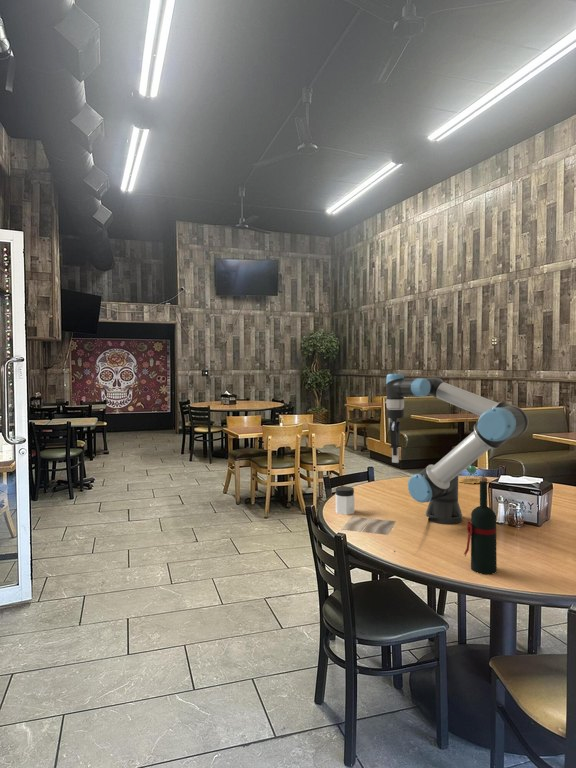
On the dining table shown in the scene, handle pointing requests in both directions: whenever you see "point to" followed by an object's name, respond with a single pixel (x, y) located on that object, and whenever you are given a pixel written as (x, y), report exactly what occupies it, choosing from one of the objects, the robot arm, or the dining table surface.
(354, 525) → the plank
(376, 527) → the grey flat panel
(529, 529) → the dining table surface
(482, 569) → the wine bottle
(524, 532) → the dining table surface
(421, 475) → the robot arm
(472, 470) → the frog figurine
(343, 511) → the jar
